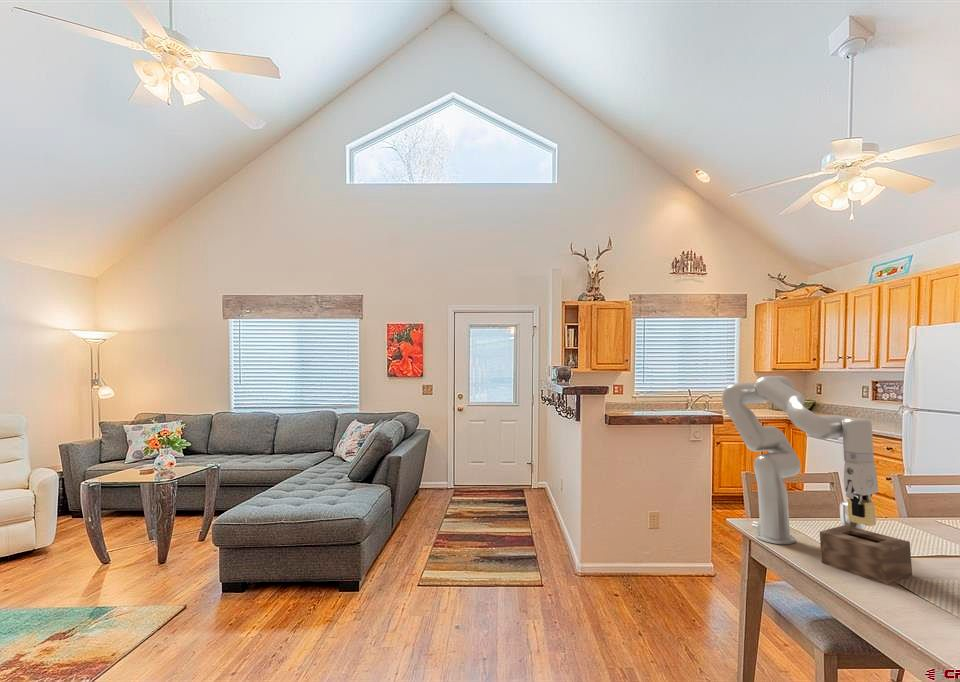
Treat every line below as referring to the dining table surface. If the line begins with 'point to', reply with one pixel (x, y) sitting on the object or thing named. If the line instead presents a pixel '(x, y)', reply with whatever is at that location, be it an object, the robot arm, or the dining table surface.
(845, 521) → the beer glass
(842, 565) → the coin box
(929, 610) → the dining table surface
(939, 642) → the dining table surface
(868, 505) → the block
